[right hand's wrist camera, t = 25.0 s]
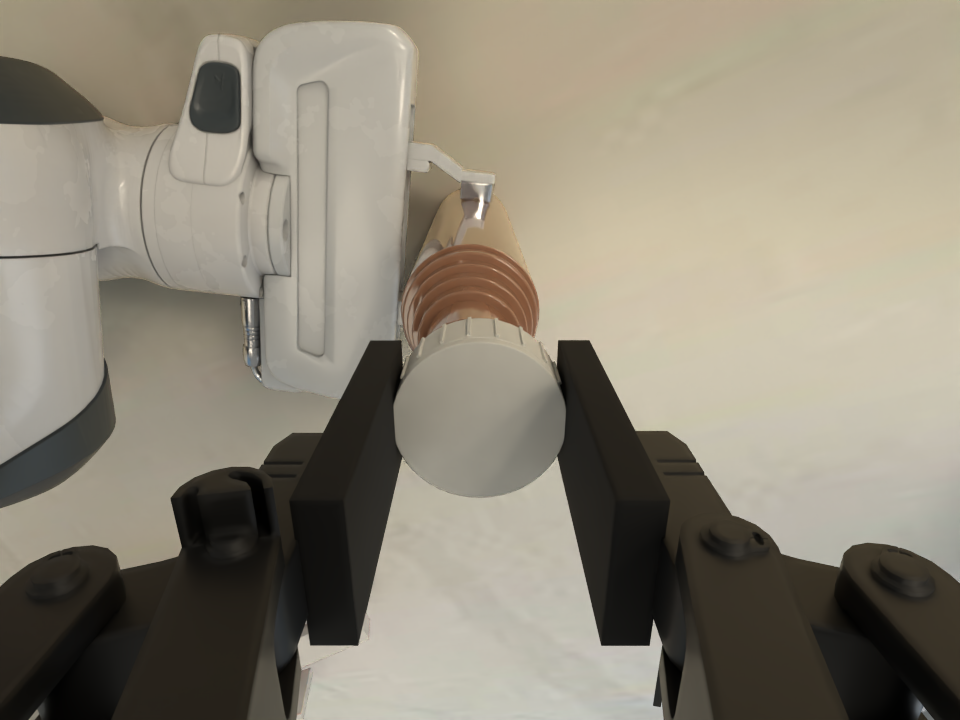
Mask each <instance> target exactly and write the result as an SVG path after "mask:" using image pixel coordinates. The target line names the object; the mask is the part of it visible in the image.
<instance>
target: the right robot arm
mask: <svg viewBox="0 0 960 720" xmlns="http://www.w3.org/2000/svg"><path fill="white" fill-rule="evenodd" d="M402 369H403V363H402V345H401V340H370V342H369V344H368V346H367V348H366V350H365V352H364V354H363V356H362V358H361V360H360V362H359V364H358V366H357V368H356V370H355V372H354V373H353V375H352V377H351V379H350V381H349V383H348V385H347V387H346V389H345V391H344V393H343V395H342V397H341V399H340V401H339V403H338V405H337V407H336V409H335V411H334V413H333V415H332V417H331V419H330V421H329V423H328V425H327V427H326V429H325V431H324V433H292V434H290V435H289V436H288V437H286V438H285V439H283V440H282V441H281V442H279V443H278V444H276V445H275V446H274V447H273V448H272V450H271V451H270V453H269V454H268V456H267V458H266V459H265V461H264V465H261V467H260V469H255V468H251V467H229V468H224V469H219V470H213V471H210V472H208V473H205V474H203V475H200V476H197V477H195V478H193V479H192V480H190V481H188V482H187V483H185V484H184V485H182V486H181V487H179V489H178V490H177V491H176V492H175V493H174V495H173V496H172V497H171V503H172V507H173V511H174V515H175V520H176V524H177V528H178V533H179V537H180V541H181V545H182V549H181V552H180V554H179V556H178V557H175V558H172V559H168V560H164V561H161V562H156V563H151V564H147V565H142V566H137V567H133V568H128V569H123V570H120V567H119V563H118V560H117V556H116V555H115V554H114V553H113V552H111V551H110V550H109V549H108V548H103V547H98V546H93V545H92V546H81V547H72V548H68V549H64V550H62V551H57V552H54V553H51V554H49V555H47V556H45V557H43V558H41V559H39V560H36V561H34V562H32V563H30V564H28V565H27V566H26V567H24V568H23V569H21V570H20V571H19V572H17V573H16V574H15V575H13V576H12V577H10V578H9V579H8V580H7V581H6V582H5V583H4V584H3V585H2V586H1V587H0V720H29V719H30V717H31V716H32V715H33V714H34V712H35V711H36V710H38V712H39V715H38V716H37V717H36V719H35V720H296V718H297V708H298V698H299V688H300V678H301V664H300V657H299V651H298V643H299V640H300V638H301V635H302V632H303V629H304V626H305V623H306V621H307V628H308V634H309V641H310V646H358V644H359V640H360V636H361V632H362V627H363V623H364V619H365V614H366V610H367V606H368V602H369V597H370V593H371V589H372V584H373V580H374V576H375V571H376V567H377V563H378V559H379V554H380V550H381V546H382V541H383V537H384V533H385V529H386V524H387V520H388V516H389V511H390V507H391V503H392V499H393V494H394V490H395V486H396V481H397V477H398V473H399V468H400V464H401V460H402V455H401V453H400V451H399V449H398V447H397V445H396V440H395V425H394V408H393V403H394V400H395V397H396V394H397V390H398V387H399V384H400V381H401V378H400V376H401V372H402ZM557 370H558V373H559V376H560V379H561V382H562V384H560V387H561V390H562V393H563V397H564V400H565V404H566V419H565V435H564V442H563V445H562V447H561V449H560V451H559V453H558V455H557V457H558V461H559V466H560V470H561V474H562V479H563V483H564V487H565V492H566V496H567V500H568V504H569V509H570V513H571V517H572V522H573V526H574V530H575V534H576V539H577V543H578V547H579V552H580V556H581V560H582V564H583V569H584V573H585V577H586V582H587V586H588V590H589V595H590V599H591V603H592V607H593V612H594V616H595V620H596V625H597V629H598V633H599V637H600V642H601V646H650V639H651V632H652V625H653V619H654V621H655V624H656V627H657V630H658V633H659V636H660V639H661V641H662V644H663V645H662V651H661V657H660V664H659V670H658V677H657V683H656V690H655V696H654V703H653V706H658V707H661V702H662V707H663V717H664V720H927V718H926V717H925V716H924V715H923V713H922V712H921V711H922V708H923V706H924V708H925V709H926V710H927V711H928V712H929V714H930V715H931V716H932V717H933V719H934V720H960V583H959V582H958V581H956V580H955V579H954V578H953V577H952V576H951V575H950V574H948V573H947V572H946V571H944V570H943V569H941V568H940V567H939V566H937V565H936V564H934V563H933V562H932V561H930V560H927V559H925V558H923V557H921V556H919V555H917V554H915V553H913V552H911V551H908V550H905V549H902V548H898V547H895V546H890V545H886V544H875V543H864V544H859V545H854V546H852V547H850V548H849V549H848V550H847V551H846V552H845V553H844V555H843V558H842V562H841V565H840V568H839V567H834V566H830V565H825V564H820V563H815V562H811V561H806V560H801V559H797V558H794V557H790V556H786V555H783V554H781V553H780V551H779V548H778V546H777V545H776V543H775V542H774V541H773V539H772V538H771V536H770V535H769V534H767V533H766V532H765V531H763V530H762V529H761V528H759V527H758V526H757V525H755V524H753V523H751V522H748V521H746V520H744V519H742V518H739V517H736V516H732V515H731V513H730V512H729V510H728V508H727V507H726V505H725V504H724V502H723V501H722V499H721V498H720V496H719V495H718V493H717V491H716V490H715V488H714V487H713V485H712V484H711V482H710V481H709V479H708V477H707V476H704V471H703V470H702V468H701V467H700V465H699V464H698V463H696V459H695V457H694V456H693V454H692V453H691V451H690V450H689V448H688V446H687V445H686V444H685V443H683V442H682V441H681V440H679V439H678V438H676V437H675V436H673V435H672V434H671V433H669V432H668V431H635V429H634V427H633V426H632V424H631V422H630V420H629V418H628V416H627V414H626V412H625V410H624V408H623V406H622V404H621V402H620V400H619V398H618V396H617V394H616V392H615V390H614V388H613V386H612V384H611V382H610V380H609V378H608V376H607V374H606V372H605V370H604V368H603V366H602V364H601V362H600V360H599V358H598V357H597V355H596V353H595V351H594V349H593V347H592V345H591V343H590V341H589V340H558V356H557Z"/></svg>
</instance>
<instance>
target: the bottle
mask: <svg viewBox="0 0 960 720" xmlns="http://www.w3.org/2000/svg"><path fill="white" fill-rule="evenodd" d="M460 191H461V189H459V190H456V191H454V192H453V193H451V194H450V195H448V196H447V197H446V198H445V199H444V200H443V202H442V203H441V205H440V206H439V208H438V211H437V213H436V215H435V218H434V220H433V222H432V225H431V227H430V230H429V232H428V234H427V237H426V239H425V241H424V244H423V246H422V248H421V251H420V253H419V256H418V258H417V260H416V263H415V265H414V267H413V270H412V272H411V275H410V277H409V279H408V282H407V284H406V287H405V289H404V292H403V296H402V302H401V319H402V324H403V329H404V333H405V336H406V339H407V341H408V344H409V346H410V348H411V349H412V351H414V349H415V348H416V347H417V346H418V345H419V343H420V341H421V338H422V337H424V338H426V337H427V336H428V335H429V334H431V333H432V332H434V331H435V330H437V329H439V328H441V327H442V325H443V324H446V325H447V324H450V323H453V322H456V321H460V320H465V319H468V317H471V319H474V318H486V319H494V318H498V320H499V321H503V322H506V323H509V324H512V325H514V326H516V327H518V328H519V326H521V327H522V328H523V330H524V331H525V332H527V333H528V334H530V335H531V336H532V337H533V338H534V337H535V334H536V329H537V325H538V320H539V300H538V296H537V292H536V289H535V286H534V284H533V281H532V278H531V276H530V273H529V270H528V268H527V265H526V262H525V260H524V257H523V254H522V252H521V249H520V246H519V244H518V241H517V238H516V236H515V233H514V230H513V228H512V225H511V222H510V220H509V217H508V214H507V212H506V209H505V207H504V205H503V204H502V202H501V201H500V200H499V199H498V198H497V197H496V196H495V195H494V194H493V198H492V202H482V201H479V200H478V199H477V198H476V199H474V200H463V199H460Z"/></svg>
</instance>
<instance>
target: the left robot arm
mask: <svg viewBox="0 0 960 720" xmlns="http://www.w3.org/2000/svg"><path fill="white" fill-rule="evenodd" d="M418 61H419V52H418V49H417V47H416V45H415V44H414V42H413V40H412V39H411V38H410V37H409V35H408V34H407V33H406V32H405V31H404V30H403V29H402V28H400V27H398V26H395V25H392V24H385V23H378V22H365V21H309V22H297V23H291V24H286V25H283V26H280V27H278V28H276V29H274V30H272V31H270V32H269V33H268V34H267V35H266V36H265V37H264V38H263V39H262V40H261V41H260V42H259V41H257V40H254V39H251V38H248V37H244V36H239V35H233V34H210V35H207V36H205V37H204V38H203V39H202V41H201V42H200V45H199V47H198V50H197V54H196V57H195V62H194V66H193V70H192V74H191V79H190V83H189V87H188V91H187V95H186V99H185V103H184V107H183V110H182V114H181V118H180V121H179V124H178V123H165V124H160V125H154V126H147V127H136V126H130V125H126V124H123V123H120V122H117V121H115V120H113V119H111V118H108V117H105V116H102V114H101V113H100V112H99V111H98V110H97V109H96V108H95V107H94V106H93V105H92V104H91V103H90V102H89V101H88V100H87V99H85V98H84V97H83V96H82V95H81V94H80V93H78V92H77V91H76V90H75V89H73V88H72V87H71V86H70V85H68V84H67V83H66V82H65V81H63V80H62V79H61V78H60V77H59V76H57V75H56V74H55V73H53V72H52V71H50V70H48V69H46V68H44V67H42V66H39V65H37V64H34V63H31V62H27V61H23V60H19V59H14V58H8V57H2V56H0V508H3V507H6V506H9V505H12V504H15V503H18V502H20V501H23V500H26V499H29V498H31V497H34V496H37V495H39V494H41V493H44V492H46V491H48V490H50V489H52V488H54V487H56V486H57V485H59V484H61V483H62V482H64V481H65V480H67V479H68V478H69V477H70V476H72V475H73V474H74V473H76V472H77V471H78V470H79V469H80V468H81V467H82V466H84V465H85V464H86V463H87V462H88V461H89V460H90V459H91V458H92V456H93V455H94V454H95V453H96V452H97V451H98V450H99V449H100V448H101V446H102V445H103V444H104V443H105V442H106V440H107V439H108V438H109V437H110V435H111V433H112V432H113V430H114V427H115V423H116V417H115V411H114V405H113V399H112V392H111V386H110V380H109V374H108V368H107V364H106V361H105V358H104V354H103V339H102V324H101V309H100V294H99V281H108V280H114V279H120V278H139V279H144V280H147V281H150V282H153V283H155V284H157V285H160V286H163V287H166V288H170V289H178V290H186V291H195V292H205V293H214V294H224V295H233V296H240V297H241V319H242V326H243V332H244V344H243V359H244V362H245V365H246V366H248V367H251V370H252V373H253V374H254V376H255V377H256V379H257V380H258V381H259V382H260V383H262V385H263V386H264V387H266V388H268V389H271V390H277V391H287V392H302V391H306V392H309V393H313V394H317V395H321V396H325V397H330V398H335V399H339V400H340V399H341V397H342V395H343V393H344V391H345V389H346V387H347V385H348V383H349V381H350V379H351V377H352V375H353V373H354V372H355V370H356V368H357V366H358V364H359V362H360V360H361V358H362V356H363V354H364V352H365V350H366V348H367V346H368V344H369V342H370V340H400V328H401V325H403V324H402V319H401V302H402V296H403V284H404V269H405V254H406V239H407V225H408V210H409V195H410V180H411V171H416V172H425V173H427V172H428V171H429V170H430V169H431V168H432V163H434V164H435V165H436V166H438V167H439V168H440V169H442V170H443V171H444V172H446V173H447V174H448V175H450V176H451V177H452V178H454V179H455V180H456V181H458V182H459V183H461V191H460V199H463V200H474V199H476V198H477V199H478V200H479V201H482V202H492V198H493V191H494V183H495V175H496V174H495V173H492V172H487V171H479V170H470V169H463V166H462V165H461V164H459V163H458V162H457V161H455V160H454V159H453V158H452V157H450V156H449V155H448V154H446V153H445V152H444V151H442V150H441V149H440V148H439V147H437V146H436V145H435V144H430V143H422V142H414V141H413V136H414V121H415V106H416V92H417V77H418ZM260 365H261V373H260V371H259V369H258V366H260Z"/></svg>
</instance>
